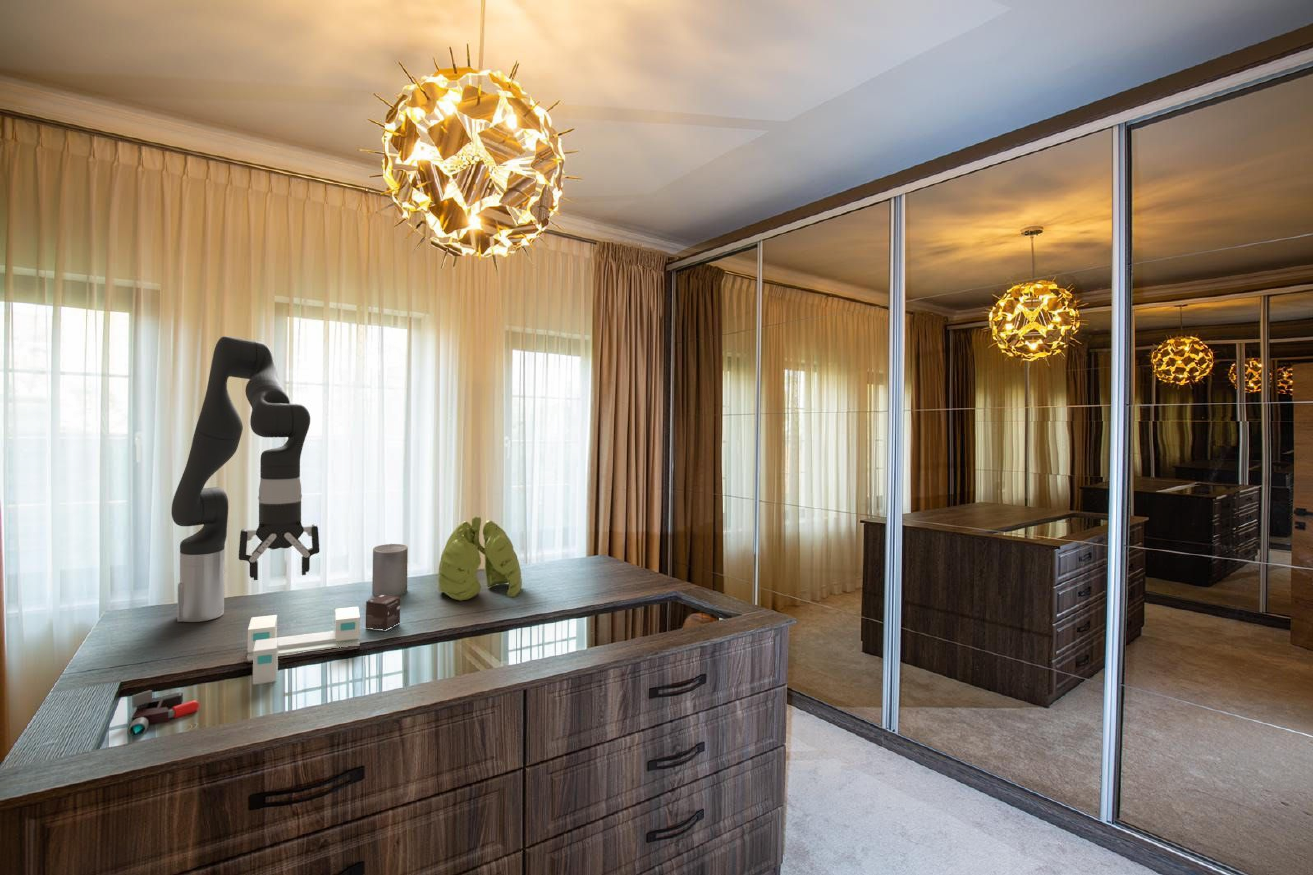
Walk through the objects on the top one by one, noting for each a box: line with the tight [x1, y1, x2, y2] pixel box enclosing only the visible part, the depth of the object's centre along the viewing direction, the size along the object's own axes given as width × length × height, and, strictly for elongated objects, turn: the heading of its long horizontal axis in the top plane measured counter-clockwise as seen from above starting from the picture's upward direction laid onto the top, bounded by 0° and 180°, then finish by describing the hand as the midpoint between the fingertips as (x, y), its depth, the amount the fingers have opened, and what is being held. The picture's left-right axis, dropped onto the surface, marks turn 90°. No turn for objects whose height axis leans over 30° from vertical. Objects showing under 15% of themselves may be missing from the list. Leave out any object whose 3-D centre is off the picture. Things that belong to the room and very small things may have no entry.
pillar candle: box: [371, 543, 409, 597], centre depth 184 cm, size 10×10×15 cm
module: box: [252, 637, 279, 685], centre depth 128 cm, size 4×6×7 cm, turn 29°
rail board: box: [246, 606, 361, 660], centre depth 142 cm, size 22×10×7 cm, turn 119°
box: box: [365, 595, 401, 630], centre depth 158 cm, size 6×6×7 cm
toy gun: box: [127, 689, 200, 737], centre depth 111 cm, size 10×12×5 cm
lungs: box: [437, 516, 523, 602], centre depth 188 cm, size 25×16×24 cm, turn 112°
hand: (280, 576), depth 128 cm, fingers open, 8 cm apart
